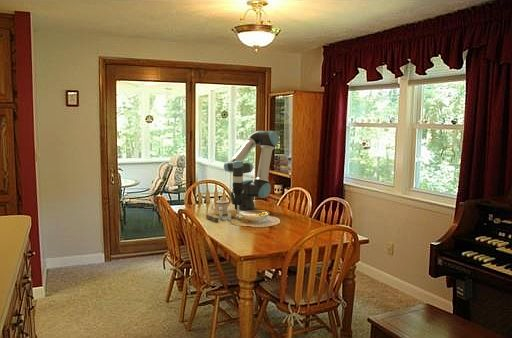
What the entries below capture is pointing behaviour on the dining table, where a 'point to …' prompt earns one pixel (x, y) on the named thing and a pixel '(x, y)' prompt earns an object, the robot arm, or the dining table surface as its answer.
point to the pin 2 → (229, 214)
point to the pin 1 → (220, 212)
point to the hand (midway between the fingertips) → (237, 213)
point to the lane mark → (227, 218)
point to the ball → (233, 213)
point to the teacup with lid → (221, 204)
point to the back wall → (212, 218)
